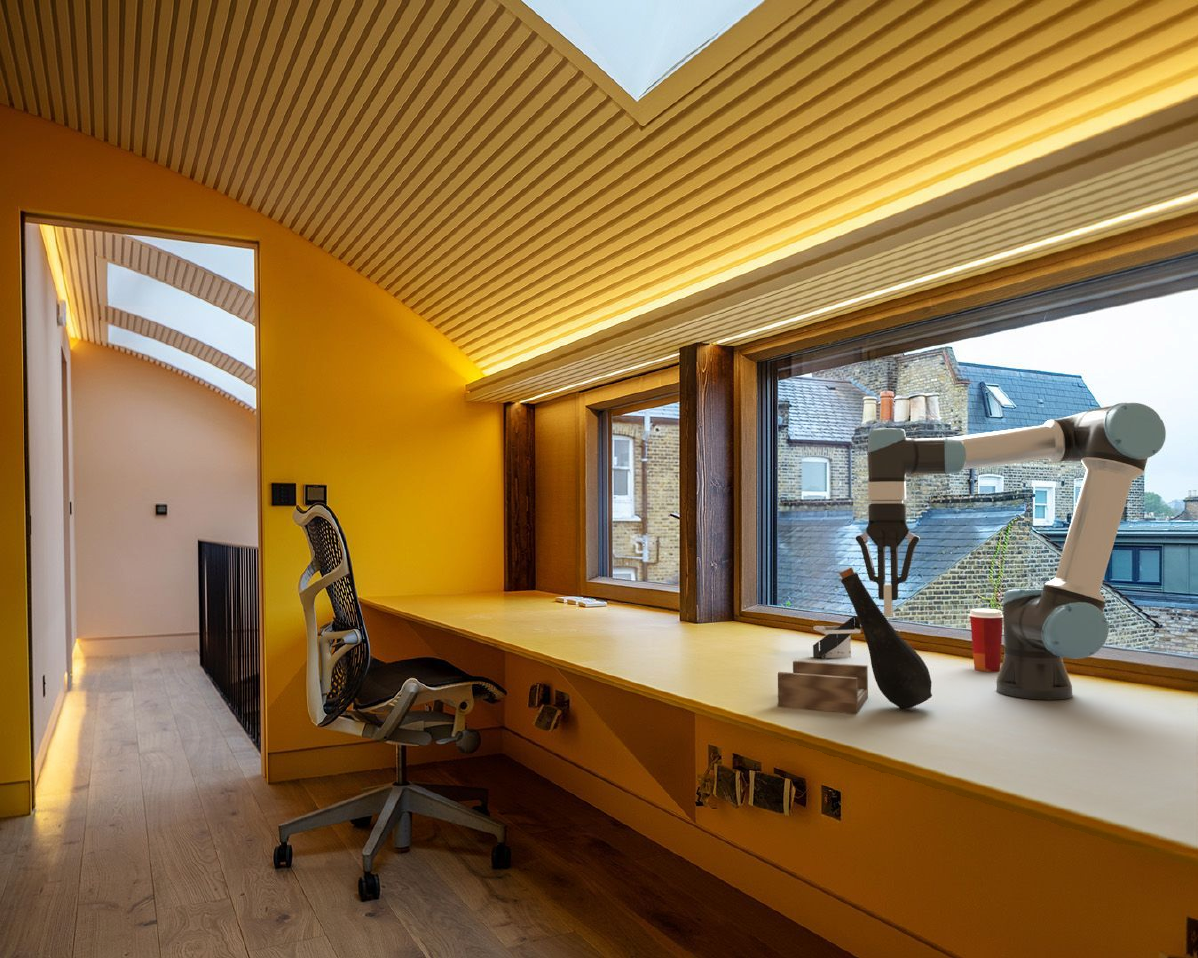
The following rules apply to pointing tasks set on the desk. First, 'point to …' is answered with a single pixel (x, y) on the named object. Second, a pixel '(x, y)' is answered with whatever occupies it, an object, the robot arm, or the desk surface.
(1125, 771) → the desk surface
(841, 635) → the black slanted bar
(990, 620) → the coffee cup
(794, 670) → the cradle
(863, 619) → the bottle
